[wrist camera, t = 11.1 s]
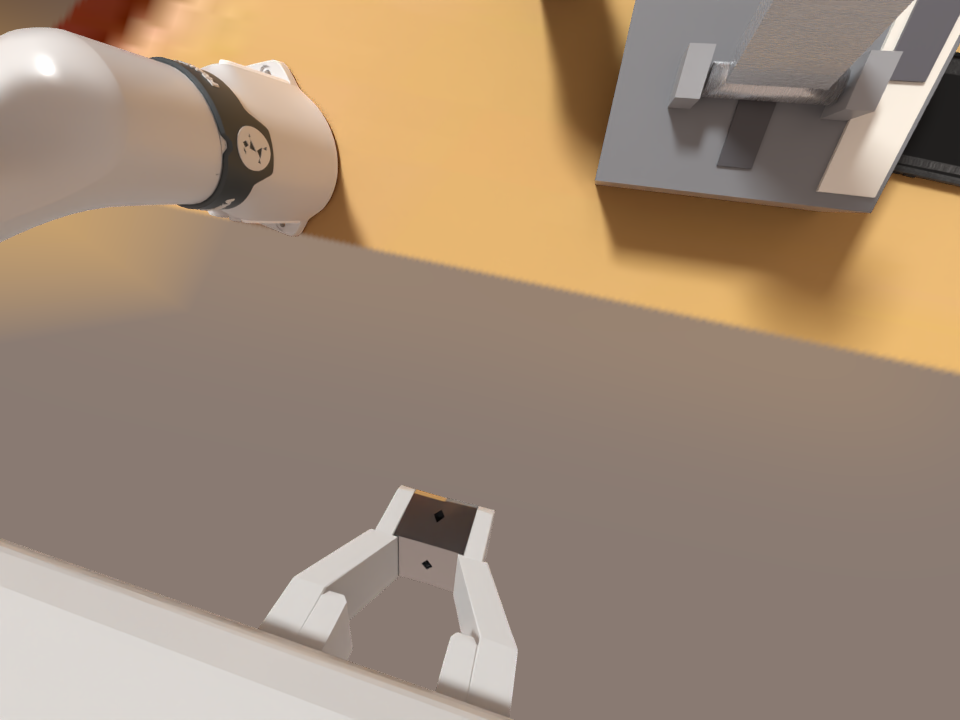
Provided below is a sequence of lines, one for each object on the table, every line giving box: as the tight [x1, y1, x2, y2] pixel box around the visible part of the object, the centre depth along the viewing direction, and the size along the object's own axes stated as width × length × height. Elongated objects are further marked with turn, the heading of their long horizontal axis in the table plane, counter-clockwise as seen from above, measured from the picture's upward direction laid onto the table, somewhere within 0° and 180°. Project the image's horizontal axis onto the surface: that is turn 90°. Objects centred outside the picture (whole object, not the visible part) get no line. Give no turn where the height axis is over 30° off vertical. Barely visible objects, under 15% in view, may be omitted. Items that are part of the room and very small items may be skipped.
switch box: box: [595, 0, 960, 213], centre depth 28 cm, size 20×14×10 cm
